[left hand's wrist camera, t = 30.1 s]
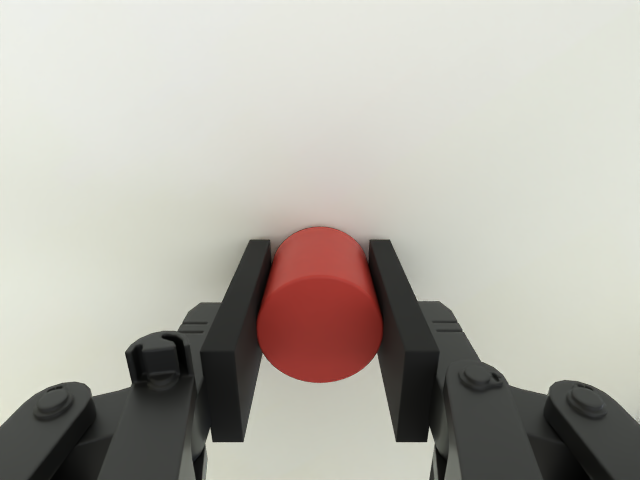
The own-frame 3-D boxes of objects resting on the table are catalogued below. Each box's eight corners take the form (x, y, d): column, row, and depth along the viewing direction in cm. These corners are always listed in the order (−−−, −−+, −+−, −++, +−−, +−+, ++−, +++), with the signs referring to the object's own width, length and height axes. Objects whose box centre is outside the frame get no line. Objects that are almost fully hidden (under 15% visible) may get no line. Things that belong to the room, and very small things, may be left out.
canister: (288, 321, 16) (278, 395, 12) (258, 240, 15) (236, 294, 11) (377, 300, 16) (396, 369, 12) (355, 214, 14) (367, 260, 10)
